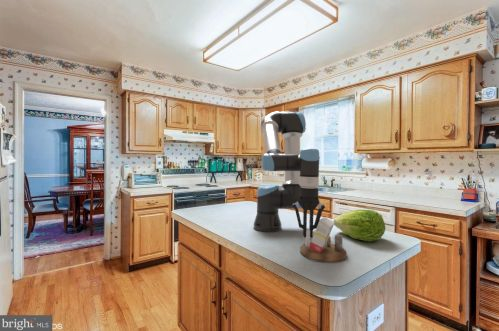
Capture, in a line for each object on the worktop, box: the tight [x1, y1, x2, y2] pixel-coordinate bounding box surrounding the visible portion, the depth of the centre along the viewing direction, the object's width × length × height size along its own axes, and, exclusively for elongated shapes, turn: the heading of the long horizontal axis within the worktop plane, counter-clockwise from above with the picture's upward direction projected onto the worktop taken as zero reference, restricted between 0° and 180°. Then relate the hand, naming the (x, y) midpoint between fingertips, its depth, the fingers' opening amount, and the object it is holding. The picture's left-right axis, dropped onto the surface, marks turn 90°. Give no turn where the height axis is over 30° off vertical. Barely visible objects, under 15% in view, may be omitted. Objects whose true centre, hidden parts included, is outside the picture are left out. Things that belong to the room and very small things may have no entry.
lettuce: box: [332, 209, 386, 243], centre depth 123 cm, size 17×24×14 cm
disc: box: [299, 234, 348, 264], centre depth 102 cm, size 18×18×8 cm
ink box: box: [309, 216, 335, 253], centre depth 101 cm, size 9×5×12 cm, turn 151°
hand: (307, 245), depth 102 cm, fingers closed
